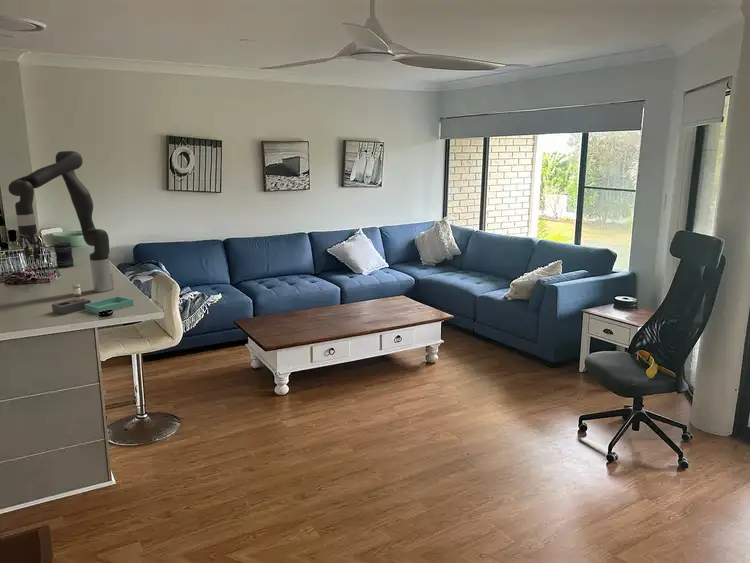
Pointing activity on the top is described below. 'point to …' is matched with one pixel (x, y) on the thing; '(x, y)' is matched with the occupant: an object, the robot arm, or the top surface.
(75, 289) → the fuse
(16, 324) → the top surface
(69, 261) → the storage jar
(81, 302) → the block
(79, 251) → the top surface
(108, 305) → the tray
